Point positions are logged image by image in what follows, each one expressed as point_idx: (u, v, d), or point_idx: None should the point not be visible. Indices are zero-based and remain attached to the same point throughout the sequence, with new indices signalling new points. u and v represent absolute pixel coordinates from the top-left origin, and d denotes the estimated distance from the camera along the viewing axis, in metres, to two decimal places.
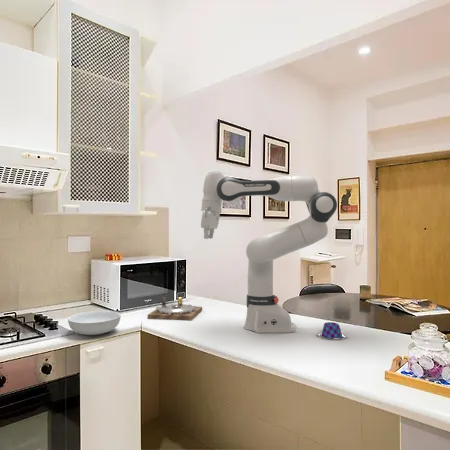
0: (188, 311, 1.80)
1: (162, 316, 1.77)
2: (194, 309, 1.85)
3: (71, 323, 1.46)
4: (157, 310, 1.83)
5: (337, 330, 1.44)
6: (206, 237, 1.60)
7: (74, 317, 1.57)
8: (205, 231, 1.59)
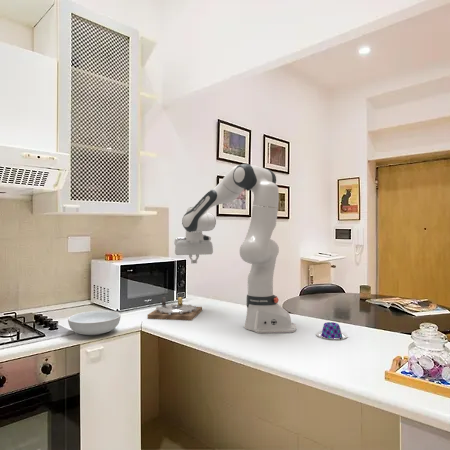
0: (188, 311, 1.80)
1: (162, 316, 1.77)
2: (194, 309, 1.85)
3: (71, 323, 1.46)
4: (157, 310, 1.83)
5: (337, 330, 1.44)
6: (191, 262, 1.96)
7: (74, 317, 1.57)
8: (189, 257, 1.96)
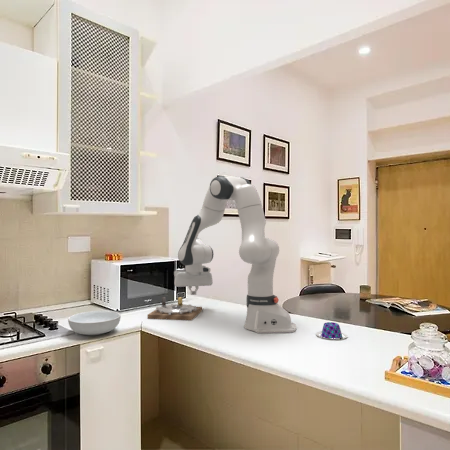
0: (188, 311, 1.80)
1: (162, 316, 1.77)
2: (194, 309, 1.85)
3: (71, 323, 1.46)
4: (157, 310, 1.83)
5: (337, 330, 1.45)
6: (190, 293, 1.96)
7: (74, 317, 1.57)
8: (189, 288, 1.96)
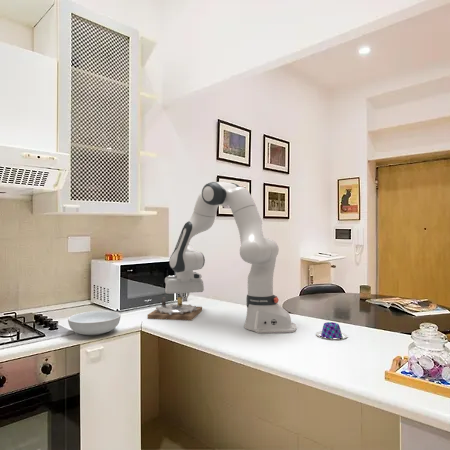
0: (188, 311, 1.81)
1: (162, 316, 1.77)
2: (194, 309, 1.85)
3: (71, 323, 1.46)
4: (157, 310, 1.83)
5: (338, 330, 1.45)
6: (182, 300, 1.94)
7: (74, 317, 1.57)
8: None
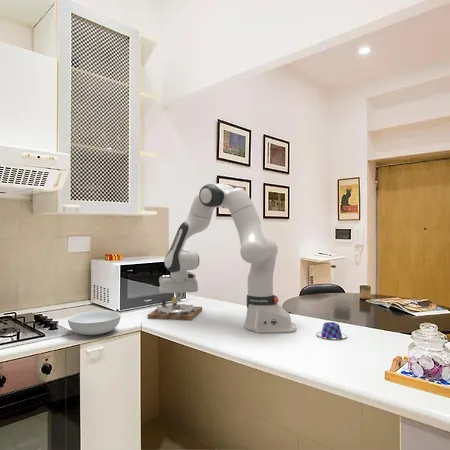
0: (193, 310, 1.84)
1: (162, 316, 1.77)
2: (195, 307, 1.89)
3: (71, 323, 1.46)
4: (161, 311, 1.80)
5: (338, 330, 1.45)
6: (177, 300, 1.95)
7: (74, 317, 1.57)
8: None
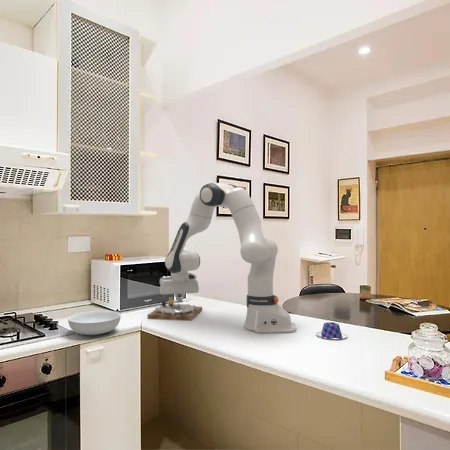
0: (194, 309, 1.86)
1: (162, 316, 1.77)
2: (194, 306, 1.91)
3: (71, 323, 1.46)
4: (164, 312, 1.78)
5: (338, 330, 1.45)
6: None
7: (75, 317, 1.57)
8: (175, 296, 1.93)
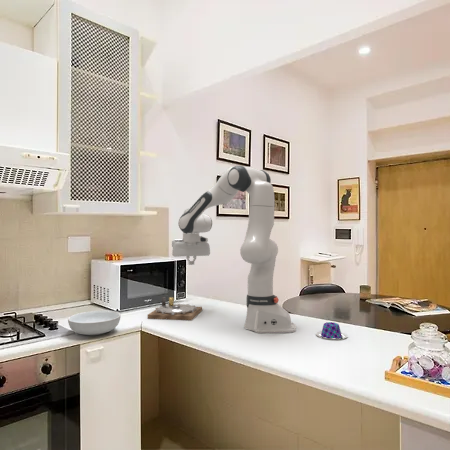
0: (194, 309, 1.86)
1: (162, 316, 1.77)
2: (194, 306, 1.91)
3: (71, 323, 1.46)
4: (164, 312, 1.78)
5: (339, 330, 1.45)
6: (188, 263, 1.97)
7: (74, 317, 1.57)
8: None
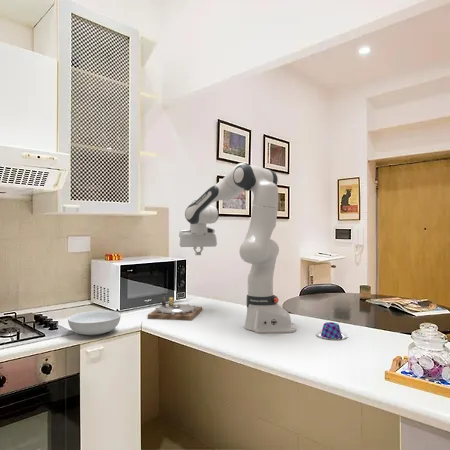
0: (194, 309, 1.86)
1: (162, 316, 1.77)
2: (194, 306, 1.91)
3: (71, 323, 1.46)
4: (164, 312, 1.78)
5: (339, 329, 1.45)
6: (195, 254, 2.00)
7: (75, 317, 1.57)
8: None
